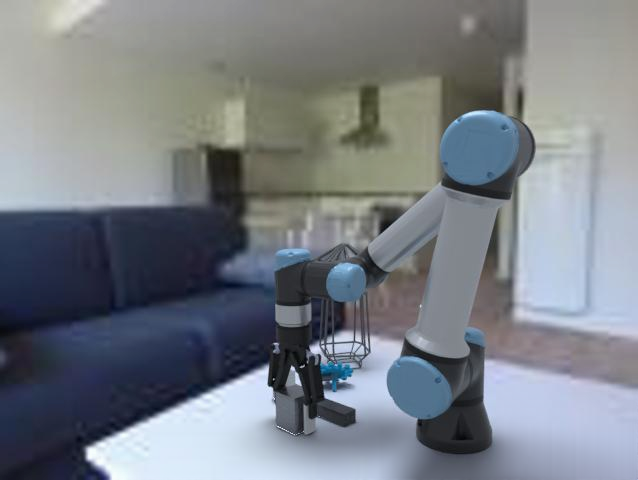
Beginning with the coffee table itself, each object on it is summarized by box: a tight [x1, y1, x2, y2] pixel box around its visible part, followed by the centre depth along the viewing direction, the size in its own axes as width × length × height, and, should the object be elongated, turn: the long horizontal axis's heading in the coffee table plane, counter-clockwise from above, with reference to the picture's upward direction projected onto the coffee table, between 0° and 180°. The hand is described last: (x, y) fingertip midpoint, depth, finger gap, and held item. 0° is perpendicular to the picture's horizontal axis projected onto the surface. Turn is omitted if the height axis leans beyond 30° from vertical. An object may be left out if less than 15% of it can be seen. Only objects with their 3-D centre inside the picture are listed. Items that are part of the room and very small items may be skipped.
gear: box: [320, 361, 354, 392], centre depth 144 cm, size 11×6×10 cm
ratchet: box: [272, 369, 357, 428], centre depth 132 cm, size 24×6×7 cm, turn 45°
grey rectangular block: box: [275, 383, 312, 435], centre depth 122 cm, size 6×6×8 cm
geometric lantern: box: [313, 242, 372, 370], centre depth 160 cm, size 16×16×35 cm
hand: (295, 425), depth 122 cm, fingers open, 8 cm apart
